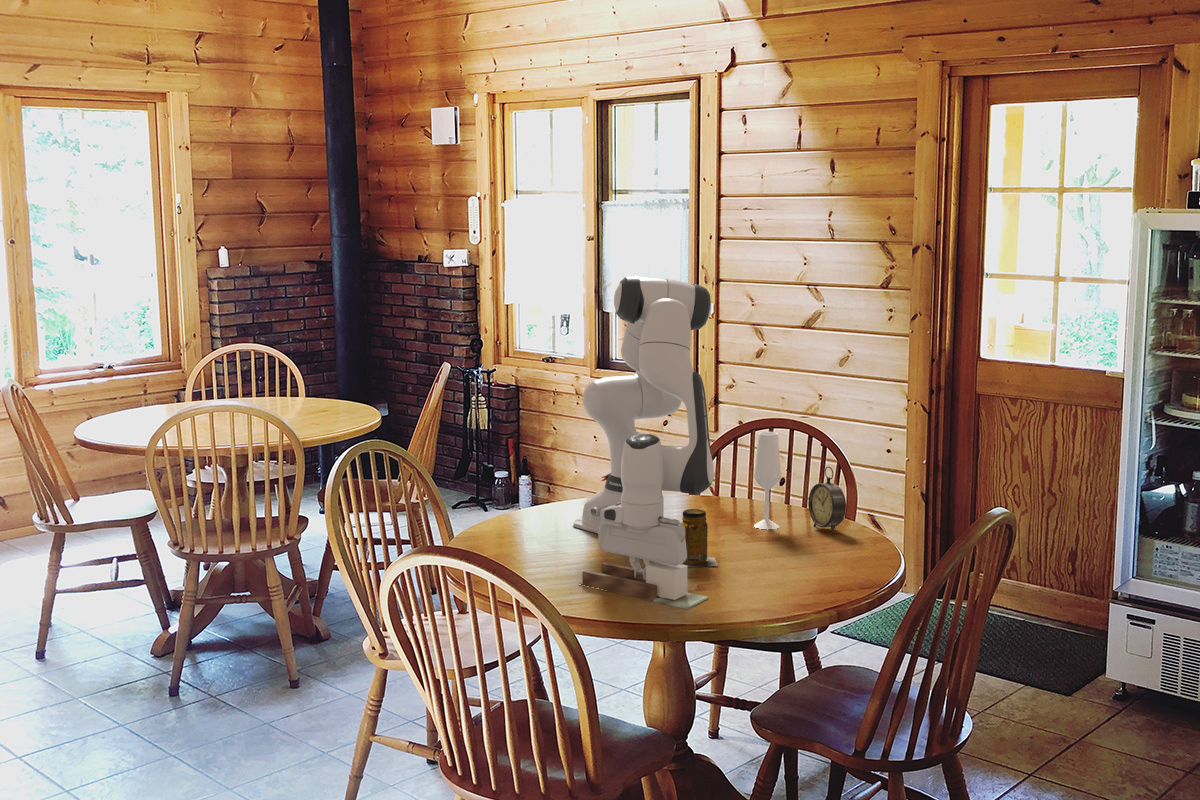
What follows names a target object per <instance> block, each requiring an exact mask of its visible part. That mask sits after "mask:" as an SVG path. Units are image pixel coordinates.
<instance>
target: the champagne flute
mask: <svg viewBox="0 0 1200 800" xmlns="http://www.w3.org/2000/svg"><path fill="white" fill-rule="evenodd" d="M756 446H757V447H756V454H755V465H754V471H753V472H754V474H753V478H754V480H755V481H756V483H757V484H758V485H759V486H760V487H761V488H762V489H764V505H763V506H764V507H763V508H764V509H763V511H764V515H763V516H764V517H763V519H762V520H760V521H758V522H756V523H755V524H753V525H754V527H755V528H754V527H753V528H754V529H756V528H759V529H758V530H761V529H767V530H766V531H769V530H768V529H775V530H778V529H780V525H779V524H777V523H775V522H774V521H772V520H771V519H770V490H771V489H772V488H774V487H775V486H776V485H777V484H778V483H779V482H780V480H781V477H782V474H781V460H780V458H781V457H780V447H779V446H780V444H779V433H778V432H777V431H776V432H775V431H760V432H758V438H757V445H756ZM777 528H778V529H777Z"/></svg>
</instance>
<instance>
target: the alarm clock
mask: <svg viewBox="0 0 1200 800" xmlns="http://www.w3.org/2000/svg"><path fill="white" fill-rule="evenodd" d="M827 469H830V470H831V477H829V476H827ZM824 475H825V477H826V482H822V483H821V482H817V483H816V484H815V485H814V486H812V488H811V490H810V492H809V494H808V499H807V501H808V504H807V505H808V507H807V508H808V512H809V515H810V518H811V520H812V521H813V527H814V526H815V527H819V528H830V529H831V532H832V534H833V535H836V531H835V529H837V528H836V527H837V526H839V525H840V524H842V522H843V521H844V519H845V516H846V512H847V501H846V497H845V493H844V491H843V489H842V488H841V487H840V486H839V485H838V484H836V483H833V482H831V480H833V478H834V470H833V468H832V467H831V466H830V465H829V466H826V467H825V469H824Z"/></svg>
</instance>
